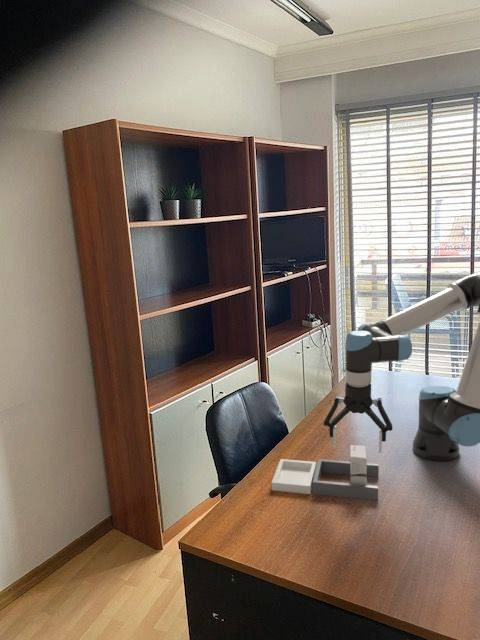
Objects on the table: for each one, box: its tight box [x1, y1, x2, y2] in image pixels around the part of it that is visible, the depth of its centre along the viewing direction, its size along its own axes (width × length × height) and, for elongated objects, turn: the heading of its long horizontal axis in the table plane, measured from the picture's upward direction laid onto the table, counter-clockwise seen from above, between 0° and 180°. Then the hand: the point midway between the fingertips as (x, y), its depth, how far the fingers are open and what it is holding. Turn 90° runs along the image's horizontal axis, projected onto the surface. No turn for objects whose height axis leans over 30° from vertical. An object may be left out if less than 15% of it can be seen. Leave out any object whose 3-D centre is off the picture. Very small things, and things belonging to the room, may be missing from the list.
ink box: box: [349, 444, 368, 485], centre depth 158 cm, size 9×5×12 cm, turn 168°
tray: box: [271, 458, 317, 495], centre depth 164 cm, size 12×15×3 cm
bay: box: [312, 458, 380, 501], centre depth 160 cm, size 19×14×4 cm
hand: (357, 448), depth 156 cm, fingers open, 13 cm apart
